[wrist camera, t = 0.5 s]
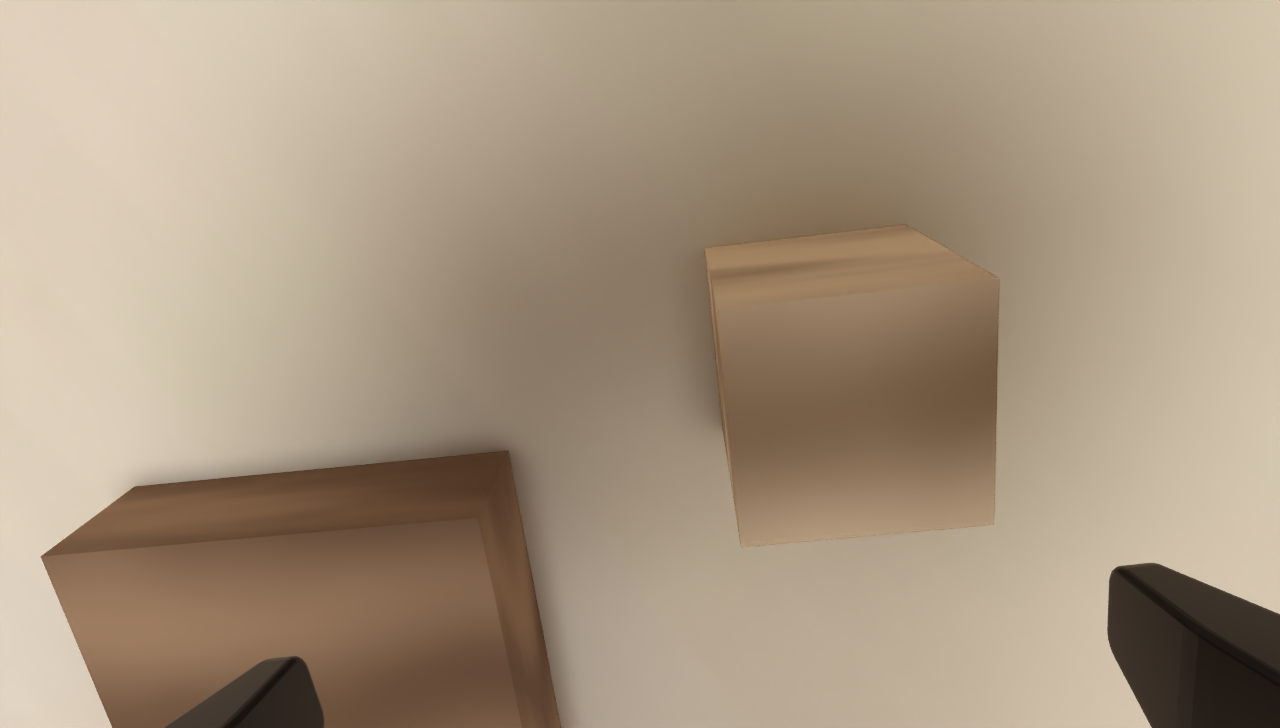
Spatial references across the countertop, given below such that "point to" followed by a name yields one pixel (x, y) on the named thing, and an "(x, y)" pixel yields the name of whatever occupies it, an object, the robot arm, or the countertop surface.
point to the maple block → (855, 384)
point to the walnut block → (316, 594)
